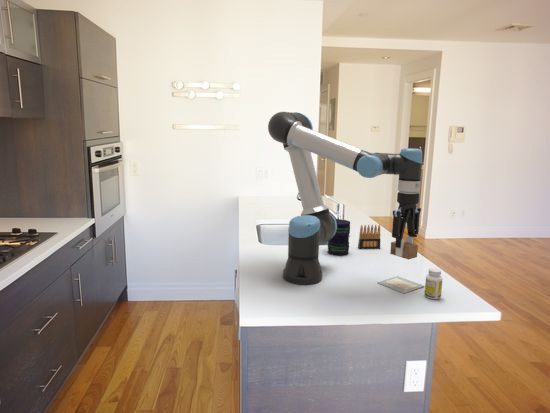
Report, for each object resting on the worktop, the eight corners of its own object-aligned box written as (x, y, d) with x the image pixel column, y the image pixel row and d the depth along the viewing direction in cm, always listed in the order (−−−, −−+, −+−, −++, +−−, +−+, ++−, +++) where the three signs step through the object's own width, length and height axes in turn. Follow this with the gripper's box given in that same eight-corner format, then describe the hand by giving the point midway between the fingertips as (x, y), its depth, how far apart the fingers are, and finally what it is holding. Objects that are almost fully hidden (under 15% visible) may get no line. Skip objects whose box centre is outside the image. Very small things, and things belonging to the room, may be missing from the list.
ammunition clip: (359, 249, 199) (360, 225, 197) (357, 248, 201) (359, 224, 199) (380, 248, 201) (382, 224, 198) (378, 247, 202) (380, 223, 200)
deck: (390, 253, 154) (391, 242, 153) (398, 251, 157) (399, 240, 156) (408, 259, 148) (409, 247, 147) (417, 257, 150) (417, 245, 150)
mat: (404, 293, 146) (404, 292, 146) (377, 283, 156) (377, 281, 155) (424, 286, 153) (424, 285, 153) (397, 277, 163) (397, 275, 162)
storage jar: (348, 256, 187) (350, 224, 184) (326, 255, 189) (328, 223, 186) (349, 250, 197) (350, 219, 194) (328, 249, 198) (329, 218, 196)
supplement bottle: (436, 293, 147) (439, 267, 145) (443, 299, 142) (446, 272, 140) (421, 293, 147) (424, 267, 145) (427, 299, 141) (430, 272, 139)
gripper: (401, 195, 139) (396, 261, 144) (432, 191, 150) (427, 253, 154) (383, 192, 145) (379, 256, 150) (414, 189, 156) (410, 248, 160)
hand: (403, 254), depth 152 cm, fingers closed on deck, 5 cm apart
